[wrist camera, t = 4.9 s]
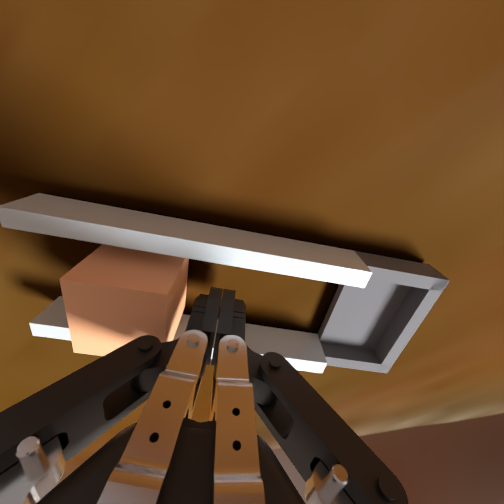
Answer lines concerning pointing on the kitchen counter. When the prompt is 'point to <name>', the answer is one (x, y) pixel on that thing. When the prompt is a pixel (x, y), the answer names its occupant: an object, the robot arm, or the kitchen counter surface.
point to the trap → (379, 313)
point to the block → (123, 298)
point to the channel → (193, 247)
